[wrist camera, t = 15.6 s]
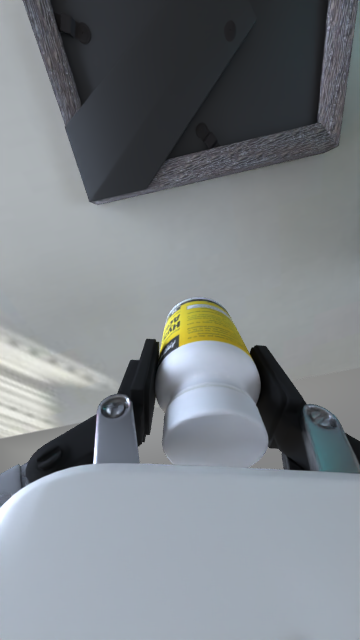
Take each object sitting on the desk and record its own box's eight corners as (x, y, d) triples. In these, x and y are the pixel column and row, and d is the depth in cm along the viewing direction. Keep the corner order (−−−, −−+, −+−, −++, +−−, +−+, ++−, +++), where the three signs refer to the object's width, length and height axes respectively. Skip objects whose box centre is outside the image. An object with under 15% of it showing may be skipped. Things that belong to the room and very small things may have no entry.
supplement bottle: (170, 289, 15) (153, 384, 6) (238, 302, 15) (321, 408, 6) (160, 347, 17) (137, 479, 8) (219, 357, 17) (259, 492, 8)
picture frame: (98, 204, 18) (325, 152, 17) (89, 202, 16) (342, 143, 15) (-3, -103, 11) (369, -241, 10) (-37, -165, 10) (412, -346, 8)
